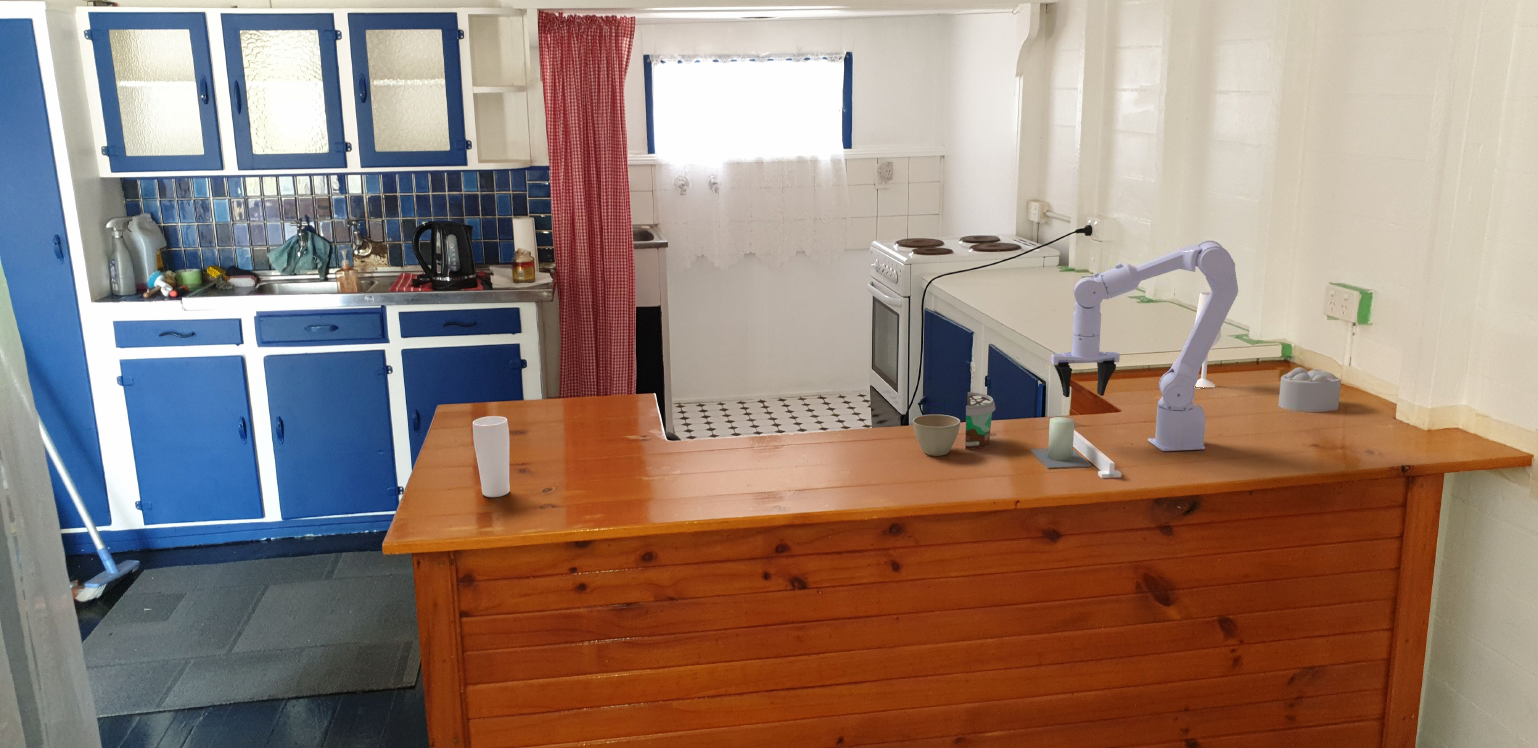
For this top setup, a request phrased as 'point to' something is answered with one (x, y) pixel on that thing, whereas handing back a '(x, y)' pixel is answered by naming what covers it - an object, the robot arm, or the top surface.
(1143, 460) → the top surface
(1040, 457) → the mat
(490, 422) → the drinking glass
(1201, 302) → the champagne flute
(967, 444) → the food container
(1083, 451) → the low wall
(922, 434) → the flower pot
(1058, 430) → the green cylinder
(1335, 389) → the lumpy-topped squat cylinder
